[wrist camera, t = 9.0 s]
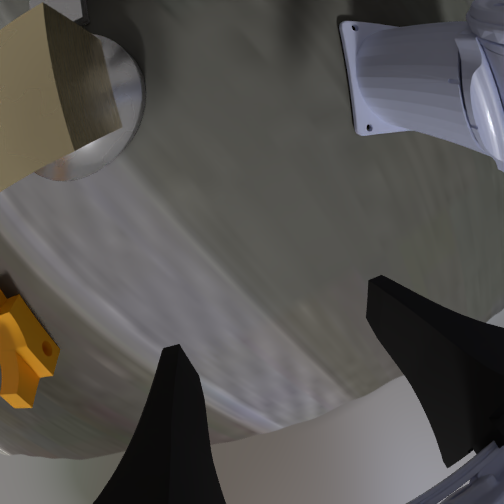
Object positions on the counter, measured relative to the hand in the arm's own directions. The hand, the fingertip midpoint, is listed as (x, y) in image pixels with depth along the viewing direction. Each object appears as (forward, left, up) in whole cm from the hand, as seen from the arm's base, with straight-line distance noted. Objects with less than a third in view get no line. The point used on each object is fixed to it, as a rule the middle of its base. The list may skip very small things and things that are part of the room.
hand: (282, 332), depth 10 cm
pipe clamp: (+20, +1, -10) cm, 23 cm away
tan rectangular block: (+7, -10, -8) cm, 15 cm away
